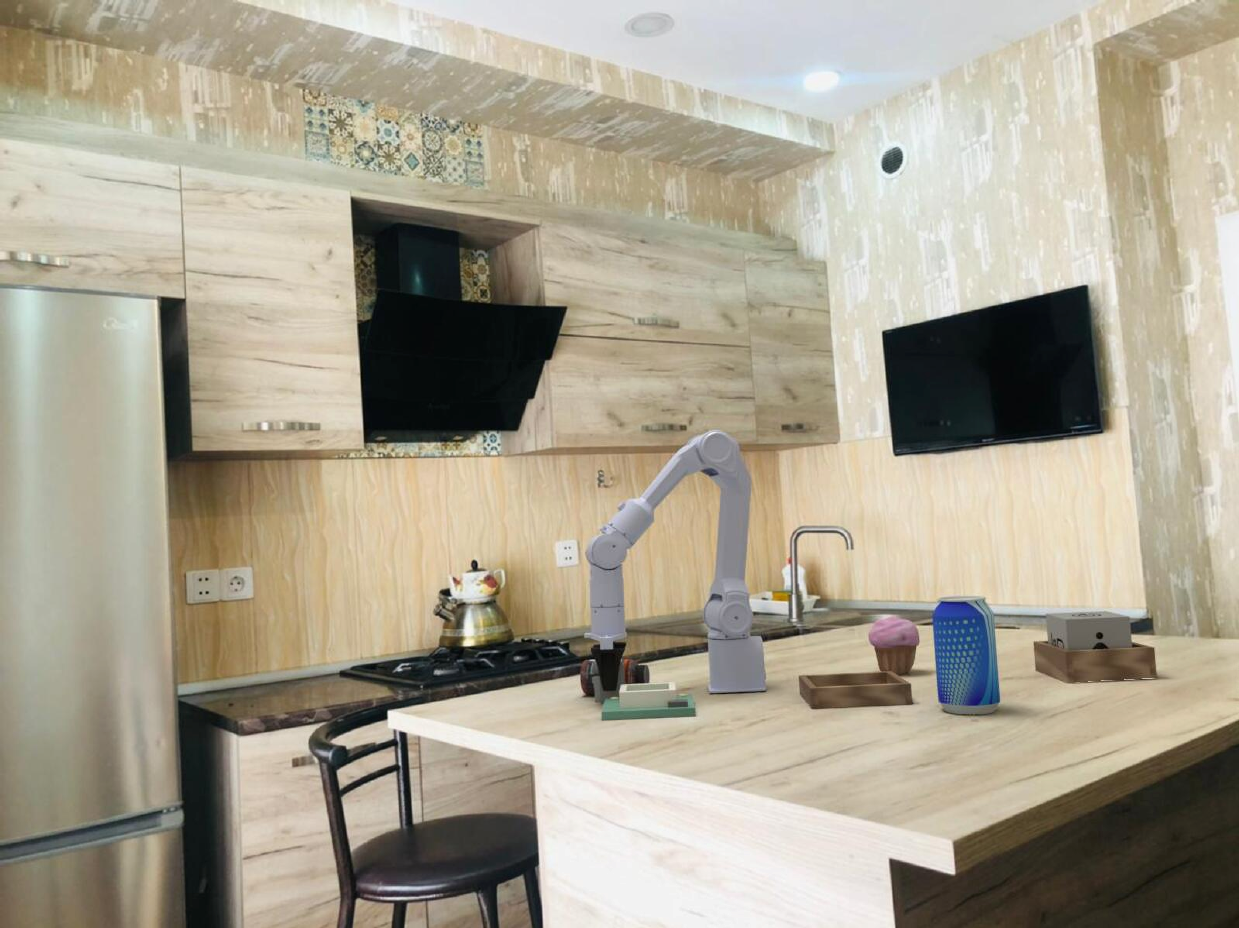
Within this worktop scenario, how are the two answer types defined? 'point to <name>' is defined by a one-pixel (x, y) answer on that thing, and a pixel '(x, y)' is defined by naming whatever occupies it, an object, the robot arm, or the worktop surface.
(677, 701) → the board
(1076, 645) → the icon cube
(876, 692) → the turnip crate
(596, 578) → the robot arm
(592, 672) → the supplement bottle
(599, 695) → the plug
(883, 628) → the cupcake
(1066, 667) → the cube crate
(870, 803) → the worktop surface
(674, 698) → the frame
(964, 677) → the beer can
